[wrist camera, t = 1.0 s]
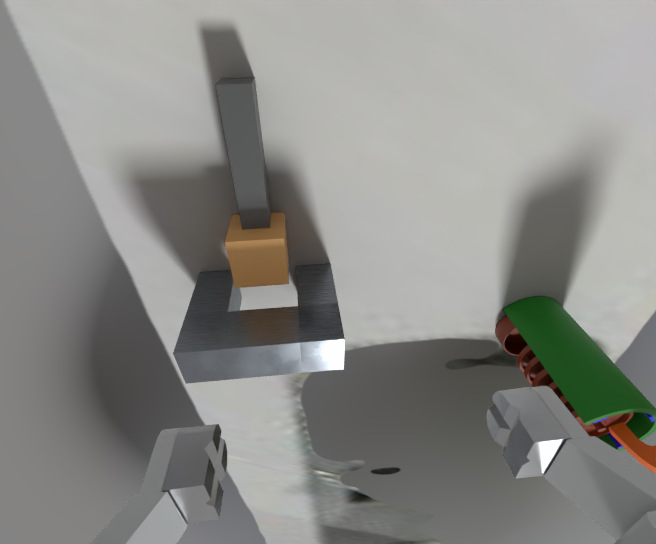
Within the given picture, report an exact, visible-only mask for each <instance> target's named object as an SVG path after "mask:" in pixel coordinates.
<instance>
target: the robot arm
mask: <svg viewBox="0 0 656 544" xmlns="http://www.w3.org/2000/svg"><path fill="white" fill-rule="evenodd" d="M492 400H493V401H494V403H495V404H494V405H492V406H491V407H490V408H489V409H488V412H487V424H488V427H489V430H490V433H491V434H492V436H493V438H494V440H495V441H496V442H497V443H499V444H500V445H502V446H503V447H504V448H503V457H504V459H505V460H506V462H507V464H508V466H509V467H510V470H511V471H512V473H513V475H514V477H515V478H524V477H533V476H543V475H545V476H544V478H545V479H547V480H548V481H549V482H550V483H551V484H552V485H554V486H555V487H556V488H557V489H558V490H559V491H560V492H562V493H563V494H564V495H565V496H566V497H567V498H568V499H570V500H571V501H572V502H573V503H574V504H575V505H576V506H578V507H579V508H580V509H581V510H582V511H583V512H584V513H586V514H587V515H588V516H589V517H590V518H591V519H592V520H594V521H595V522H596V523H597V524H598V525H600V527H602V528H603V529H604V530H605V531H606V532H607V533H608V534H610V535H611V536H612V537H613V538H614V539H615V540H616V542H615V543H614V544H656V474H655V473H654V472H652V471H651V470H649V469H647V468H646V467H644V466H642V465H641V464H639V463H638V462H636V461H634V460H632V459H631V458H629V457H628V456H626V455H625V454H623V453H621V452H620V451H618V450H617V449H615V448H613V447H612V446H610V445H608V444H607V443H605V442H604V441H602V440H600V439H599V438H597V437H595V436H589V435H588V434H587V432H586V431H585V430H584V429H583V428H582V426H581V425H580V424H579V423H578V421H577V420H576V419H575V418H574V416H573V415H572V414H571V413H570V411H569V410H568V409H567V408H566V406H565V405H564V404H563V403H562V401H561V400H560V399H559V398H558V396H557V395H556V394H555V393H554V391H553V390H552V389H551V388H549V387H548V386H537V387H530V388H528V387H527V388H520V389H511V390H504V391H497V392H496V393H494V396H493V398H492ZM220 437H221V429H220V426H219V424H215V425H206V426H197V427H188V428H176V429H168V430H162V431H161V433H160V434H159V436H158V438H157V441H156V444H155V447H154V450H153V453H152V456H151V459H150V462H149V465H148V468H147V471H146V474H145V478H144V480H143V484H142V486H141V490H140V493H139V495H134V496H132V497H131V499H130V500H129V501H128V502H127V503H126V504H125V505H124V506H123V507H122V509H121V510H120V511H119V512H118V513H117V514H116V515H115V517H114V518H113V519H112V520H111V521H110V522H109V523H108V524H107V525H106V527H105V528H104V529H103V530H102V531H101V532H100V533H99V535H98V536H97V537H96V538H95V539H94V540H93V541H92V542H91V544H177V542H178V541H179V539H180V537H181V536H182V534H183V533H184V531H185V529H186V528H187V524H191V523H196V522H203V521H209V520H215V519H219V518H220V512H221V505H222V498H223V489H222V487H221V484H220V482H221V480H222V479H223V478H224V476H225V475H226V468H227V447H226V443H225V440H224V439H222V438H220Z"/></svg>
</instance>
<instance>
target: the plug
mask: <svg viewBox="0 0 656 544" xmlns="http://www.w3.org/2000/svg"><path fill="white" fill-rule="evenodd" d="M215 86H216V91H217V96H218V102H219V107H220V113H221V118H222V124H223V129H224V134H225V140H226V145H227V151H228V156H229V162H230V167H231V172H232V178H233V183H234V189H235V194H236V199H237V205H238V210H239V215H232V217H231V220H230V224H229V228H228V232H227V236H226V240H225V245H226V250H227V254H228V259H229V263H230V268H231V272H232V277H233V281H234V285H235V288H240V287H254V286H267V285H281V284H289V272H288V248H287V237H286V227H285V217H284V212H276V213H271V208H270V199H269V191H268V183H267V175H266V167H265V158H264V150H263V142H262V134H261V125H260V117H259V109H258V101H257V93H256V84H255V78H223V79H221V80H220V81H219V82H218V83H217V84H216V85H215Z"/></svg>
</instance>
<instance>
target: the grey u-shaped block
mask: <svg viewBox="0 0 656 544" xmlns="http://www.w3.org/2000/svg"><path fill="white" fill-rule="evenodd" d="M296 272H297V293H298V306H295V307H282V308H269V309H256V310H243V311H240V306H241V299H242V298H241V293H240V288H235V285H234V281H233V277H232V272H231V270H229V271H214V272H200V274H199V277H198V280H197V283H196V286H195V289H194V292H193V295H192V298H191V301H190V304H189V307H188V310H187V313H186V316H185V319H184V322H183V325H182V328H181V331H180V334H179V337H178V340H177V343H176V346H175V349H174V352H173V354H174V357H175V359H176V361H177V364H178V366H179V368H180V371H181V373H182V375H183V378H184V380H185V382H186V383H196V382H207V381H218V380H229V379H239V378H250V377H261V376H272V375H283V374H294V373H305V372H316V371H326V370H337V369H343V368H344V334H343V328H342V323H341V317H340V312H339V307H338V301H337V296H336V291H335V285H334V280H333V275H332V269H331V264H317V265H302V266H296Z"/></svg>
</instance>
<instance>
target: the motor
mask: <svg viewBox="0 0 656 544" xmlns="http://www.w3.org/2000/svg"><path fill="white" fill-rule="evenodd" d="M503 310H504V312H505V313H506V315H505V316H504V317H503V318H502V319H501V320H500V321H499V323H498V324H497V326H496V330H495V334H496V337H497V338H498V340H499V341H500V343H501V344H502V346H503V348H504V349H505V351H506V352H508V353H509V354H512V355H517V356H518V358H517V364H518V366H519V368H520V369H521V371H522V372H524V375H525V377H526V379H527V380H528V382H529V383H531V384H532V387H537V386H548V387H549V388H551V389H552V390H553V391H554V393H555V394H556V395H557V396H558V398H559V399H560V400H561V401H562V403H563V404H564V405H565V406H566V408H567V409H568V410H569V411H570V413H571V414H572V415H573V416H574V418H575V419H576V420H577V421H578V423H579V424H580V425H581V426H582V428H583V429H584V430H585V431H586V432H587V434H588V435H589V436H595V437H597V438H599V439H600V440H602V441H604V442H605V443H607V444H608V445H610V446H612V447H613V448H615V449H617V450H618V451H620V450H623V449H626V450H627V451H628V452H629V453H630V454H631V455H633V457H635V458H636V459H637V460H638V461H639V462H640V463H641V464H643V465H644V466H645V467H646V468H648V469H649V470H651V471H652V472H654V473H656V446H649V445H646V444H644V443H643V442H642V441H641V440H643V439H645V438H646V437H648V436H649V435H650V434H652V433H653V432H654V431H655V430H656V408H655V407H654V406H653V405H652V404H651V403H650V402H649V401H648V400H647V399H646V398H645V397H644V395H643V394H642V393H641V392H640V391H639V390H638V389H637V388H636V387H635V386H634V385H633V383H632V382H631V381H630V380H629V379H628V378H627V377H626V376H625V375H624V374H623V373H622V372H621V371H620V369H619V368H618V367H617V366H616V365H615V364H614V363H613V362H612V361H611V360H610V358H609V357H608V356H607V355H606V354H605V353H604V352H603V351H602V350H601V349H600V348H599V346H598V345H597V344H596V343H595V342H594V341H593V340H592V339H591V338H590V337H589V336H588V335H587V333H586V332H585V331H584V330H583V329H582V328H581V327H580V326H579V325H578V324H577V323H576V321H575V320H574V319H573V318H572V317H571V316H570V315H569V314H568V313H567V312H566V311H565V310H564V308H563V307H562V306H561V305H560V304H559V303H558V302H557V301H556V300H554V299H552V298H548V297H531V298H526V299H523V300H520V301H517V302H515V303H513V304H511V305H509V306H507V307H506V308H504V309H503Z"/></svg>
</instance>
